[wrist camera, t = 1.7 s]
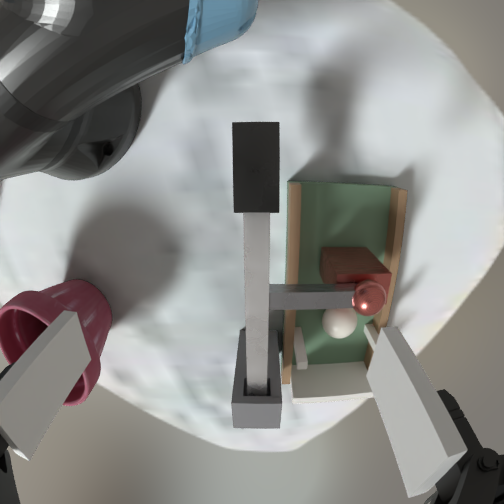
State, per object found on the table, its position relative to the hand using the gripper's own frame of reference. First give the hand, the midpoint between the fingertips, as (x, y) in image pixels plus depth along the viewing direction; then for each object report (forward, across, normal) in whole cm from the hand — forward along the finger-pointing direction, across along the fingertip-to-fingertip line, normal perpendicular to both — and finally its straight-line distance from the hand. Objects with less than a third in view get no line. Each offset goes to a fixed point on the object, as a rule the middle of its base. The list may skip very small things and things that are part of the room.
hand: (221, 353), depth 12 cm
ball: (+18, +11, -10) cm, 23 cm away
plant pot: (+22, -22, -13) cm, 33 cm away
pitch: (+21, +8, -7) cm, 24 cm away
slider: (+19, +7, -4) cm, 21 cm away
